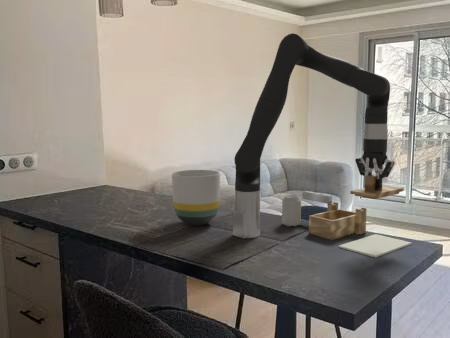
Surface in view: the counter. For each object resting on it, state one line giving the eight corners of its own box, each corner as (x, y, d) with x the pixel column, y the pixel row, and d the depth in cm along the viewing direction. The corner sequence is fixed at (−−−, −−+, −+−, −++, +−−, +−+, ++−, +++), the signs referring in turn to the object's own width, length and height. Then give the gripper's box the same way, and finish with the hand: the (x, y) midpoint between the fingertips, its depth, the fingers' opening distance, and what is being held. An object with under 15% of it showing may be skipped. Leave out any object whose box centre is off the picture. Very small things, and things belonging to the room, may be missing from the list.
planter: (229, 223, 181) (229, 172, 178) (195, 233, 167) (194, 177, 164) (197, 216, 194) (196, 168, 191) (163, 224, 180) (162, 173, 177)
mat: (375, 257, 137) (375, 255, 137) (338, 247, 148) (338, 245, 148) (411, 244, 151) (411, 242, 151) (375, 235, 162) (375, 234, 162)
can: (300, 227, 174) (300, 197, 172) (281, 226, 175) (281, 197, 174) (300, 222, 181) (301, 194, 180) (282, 222, 183) (283, 193, 181)
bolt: (328, 203, 174) (328, 196, 174) (302, 198, 185) (302, 191, 185) (331, 203, 176) (332, 195, 175) (305, 198, 186) (305, 190, 186)
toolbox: (336, 241, 155) (337, 215, 154) (304, 232, 166) (305, 208, 165) (366, 232, 166) (367, 208, 165) (334, 224, 177) (334, 202, 176)
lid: (373, 200, 138) (374, 178, 138) (350, 196, 145) (350, 175, 144) (403, 193, 150) (404, 173, 149) (380, 189, 156) (381, 171, 155)
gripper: (350, 137, 146) (348, 187, 149) (388, 138, 136) (386, 193, 138) (363, 136, 151) (361, 185, 153) (401, 137, 140) (398, 190, 142)
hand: (373, 189), depth 145 cm, fingers closed on lid, 2 cm apart
